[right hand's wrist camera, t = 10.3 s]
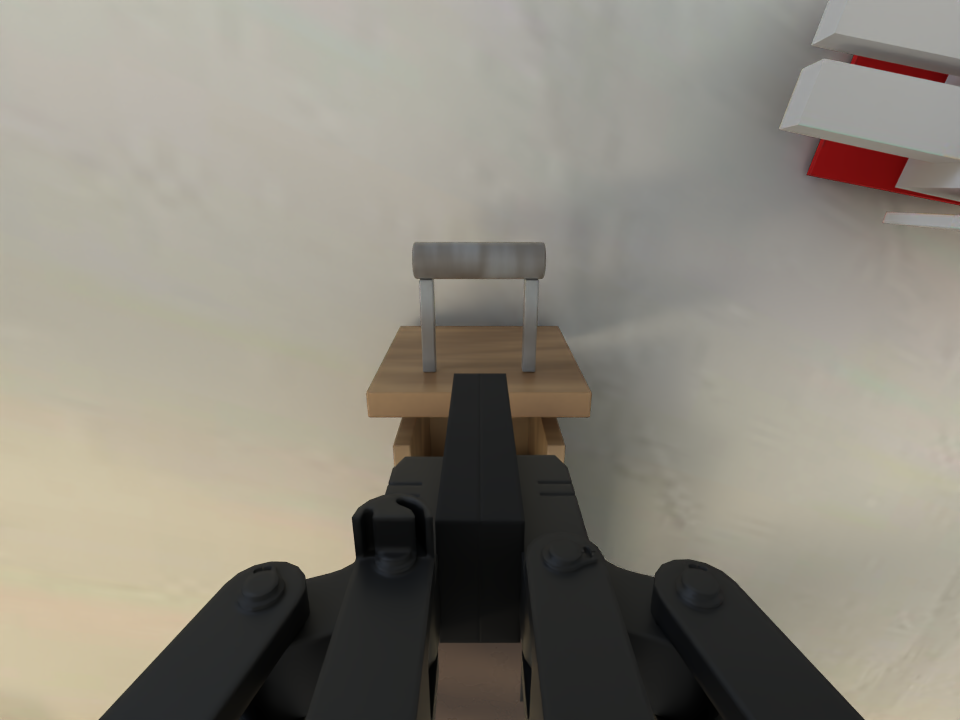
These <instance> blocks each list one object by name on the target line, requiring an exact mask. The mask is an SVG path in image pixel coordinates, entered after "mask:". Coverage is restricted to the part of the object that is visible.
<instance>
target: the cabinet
mask: <svg viewBox="0 0 960 720" xmlns="http://www.w3.org/2000/svg"><path fill="white" fill-rule="evenodd" d="M438 661H439V676H438V689H437V701H436V714H435V720H525V713H524V702H520V687H521V661H522V643H521V642H520V643H440V642H439V645H438Z"/></svg>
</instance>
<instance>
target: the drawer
mask: <svg viewBox="0 0 960 720" xmlns="http://www.w3.org/2000/svg"><path fill="white" fill-rule="evenodd" d="M412 265H413V274H414V277H415V278H416V279H420V280H419V289H420V313H421V326H401V327H400V328H399V330H398V332H397V334H396V336H395V338H394V340H393V342H392V344H391V346H390V348H389V350H388V352H387V354H386V356H385V357H384V359H383V361H382V363H381V365H380V367H379V369H378V371H377V373H376V375H375V377H374V379H373V381H372V383H371V385H370V387H369V389H368V391H367V393H366V396H367V408H368V416H369V417H402V419H401V423H400V426H399V429H398V432H397V435H396V438H395V442H394V445H393V453H394V467H395V466H396V465H397V464H398V463H399V462H400V461H401V460H402V459H403V458H404V457H443V455H444V447H445V439H446V431H447V424H448V416H449V408H450V400H451V392H452V385H453V377H454V373H506V377H507V385H508V392H509V400H510V408H511V416H512V424H513V431H514V439H515V447H516V455H556V456H557V457H558V458H559V459H560V460H561V461H562V462H563V463H564V458H565V444H564V440H563V437H562V434H561V431H560V427H559V424H558V421H557V418H556V417H589V416H590V409H591V397H592V393H591V391H590V389H589V387H588V385H587V383H586V381H585V379H584V377H583V375H582V373H581V371H580V369H579V367H578V365H577V363H576V361H575V359H574V357H573V355H572V353H571V351H570V349H569V347H568V345H567V343H566V341H565V339H564V337H563V335H562V333H561V331H560V329H559V327H558V326H537V316H538V292H539V280H538V279H542V278H543V277H544V274H545V267H546V249H545V244H544V243H543V242H415V243H414V245H413V250H412ZM434 279H524V304H523V326H435V297H434Z"/></svg>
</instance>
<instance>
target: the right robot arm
mask: <svg viewBox="0 0 960 720" xmlns="http://www.w3.org/2000/svg"><path fill="white" fill-rule="evenodd" d="M352 523H353V533H354V542H355V552H356V560H355V562H354V563H353V564H351V565H349V566H347V567H345V568H343V569H341V570H338V571H335V572H332V573H329V574H325V575H321V576H317V577H313V578H309V579H305V575H304V573H303V572H302V571H301V570H300V568H299V567H298V566H295V565H293V564H290V563H288V562H267V563H263V564H258V565H254V566H252V567H250V568H248V569H246V570H244V571H242V572H240V573H238V574H237V575H236V576H234V577H233V578H232V579H231V580H230V581H228V582H227V583H226V584H225V585H224V586H223V587H222V588H221V589H220V590H219V591H218V592H217V593H216V594H215V596H214V597H213V598H212V599H211V600H210V601H209V602H208V603H207V604H206V605H205V606H204V607H203V608H202V609H201V611H200V612H199V613H198V614H197V615H196V616H195V617H194V618H193V619H192V620H191V621H190V622H189V623H188V624H187V626H186V627H185V628H184V629H183V630H182V631H181V632H180V633H179V634H178V635H177V636H176V637H175V638H174V639H173V641H172V642H171V643H170V644H169V645H168V646H167V647H166V648H165V649H164V650H163V651H162V652H161V653H160V654H159V656H158V657H157V658H156V659H155V660H154V661H153V662H152V663H151V664H150V665H149V666H148V667H147V668H146V670H145V671H144V672H143V673H142V674H141V675H140V676H139V677H138V678H137V679H136V680H135V681H134V682H133V683H132V685H131V686H130V687H129V688H128V689H127V690H126V691H125V692H124V693H123V694H122V695H121V696H120V697H119V698H118V700H117V701H116V702H115V703H114V704H113V705H112V706H111V707H110V708H109V709H108V710H107V711H106V712H105V713H104V715H103V716H102V717H101V718H100V719H99V720H435V714H436V701H437V689H438V676H439V661H438V645H439V642H440V643H520V642H521V643H522V661H521V687H520V702H524V713H525V720H864V718H863V717H862V716H861V715H860V714H859V713H858V712H857V711H856V710H855V709H854V708H853V707H852V706H851V705H850V704H849V702H848V701H847V700H846V699H845V698H844V697H843V696H842V695H841V694H840V693H839V692H838V691H837V690H836V689H835V688H834V687H833V685H832V684H831V683H830V682H829V681H828V680H827V679H826V678H825V677H824V676H823V675H822V674H821V673H820V672H819V671H818V669H817V668H816V667H815V666H814V665H813V664H812V663H811V662H810V661H809V660H808V659H807V658H806V657H805V656H804V655H803V653H802V652H801V651H800V650H799V649H798V648H797V647H796V646H795V645H794V644H793V643H792V642H791V641H790V640H789V639H788V637H787V636H786V635H785V634H784V633H783V632H782V631H781V630H780V629H779V628H778V627H777V626H776V625H775V624H774V623H773V622H772V620H771V619H770V618H769V617H768V616H767V615H766V614H765V613H764V612H763V611H762V610H761V609H760V608H759V607H758V606H757V604H756V603H755V602H754V601H753V600H752V599H751V598H750V597H749V596H748V595H747V594H746V593H745V592H744V591H743V590H742V588H741V587H740V586H739V585H738V584H737V583H736V582H735V581H734V580H732V579H731V578H730V577H729V576H727V575H726V574H725V573H724V572H723V571H721V570H719V569H717V568H715V567H713V566H710V565H708V564H706V563H702V562H698V561H694V560H689V559H687V560H672V561H670V562H667V563H665V564H662V565H661V567H660V568H659V569H658V570H657V572H656V573H655V577H651V576H647V575H643V574H639V573H635V572H631V571H628V570H625V569H622V568H619V567H617V566H615V565H613V564H611V563H609V562H607V561H606V560H605V559H604V557H603V555H602V554H601V552H600V550H599V548H598V547H597V546H596V545H594V544H593V543H592V542H591V541H589V539H588V536H587V532H586V529H585V525H584V522H583V519H582V515H581V512H580V508H579V505H578V502H577V498H576V496H575V491H574V488H573V485H572V483H571V478H570V474H569V471H568V468H567V466H566V465H565V464H564V463H563V462H562V461H561V460H560V459H559V458H558V457H557V456H556V455H516V447H515V439H514V431H513V424H512V416H511V408H510V400H509V392H508V385H507V377H506V373H454V377H453V385H452V392H451V400H450V408H449V416H448V424H447V431H446V439H445V447H444V455H443V457H404V458H403V459H402V460H401V461H400V462H399V463H398V464H397V465H396V466H395V467H394V468H393V470H392V473H391V476H390V480H389V486H388V487H387V490H386V494H385V495H382V496H380V497H377V498H374V499H371V500H369V501H367V502H366V503H365V504H363V505H362V506H360V507H359V508H358V509H357V511H356V512H355V514H354V515H353V517H352Z"/></svg>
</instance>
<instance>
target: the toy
mask: <svg viewBox="0 0 960 720" xmlns="http://www.w3.org/2000/svg"><path fill="white" fill-rule="evenodd" d="M811 46H815V47H820V48H824V49H829V50H834V51H839V52H843V53H848V54H853V55H854V56H853V58H852V61H851V63H850V64H849V63H845V62H840V61H835V60H830V59H826V58H824V59H822V60H820V61H818V62H816V63H813V64H811V65H809V66H807V67H805V68H803V69H802V70H801V73H800V75H799V78H798V81H797V83H796V86H795V88H794V91H793V94H792V96H791V99H790V101H789V104H788V106H787V109H786V112H785V114H784V117H783V119H782V122H781V125H780V127H779V130H783V131H788V132H793V133H797V134H802V135H806V136H811V137H815V138H820V139H821V140H820V142H819V145H818V147H817V150H816V152H815V155H814V157H813V160H812V163H811V165H810V168H809V170H808V173H807V175H809V176H814V177H819V178H824V179H829V180H834V181H839V182H844V183H849V184H855V185H860V186H865V187H870V188H875V189H880V190H885V191H890V192H895V193H900V194H905V195H910V196H915V197H920V198H925V199H931V200H936V201H941V202H946V203H951V204H956V205H960V0H828V3H827V6H826V8H825V11H824V13H823V16H822V19H821V21H820V24H819V26H818V29H817V32H816V34H815V37H814V39H813V42H812V44H811ZM883 223H889V224H899V225H908V226H917V227H927V228H936V229H946V230H955V231H960V215H950V214H926V213H902V212H886V214H885V217H884V220H883Z"/></svg>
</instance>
